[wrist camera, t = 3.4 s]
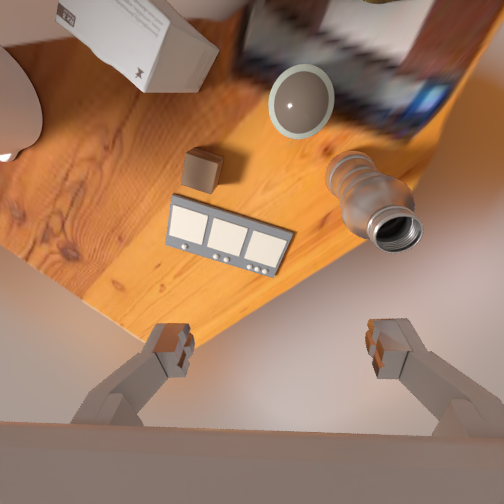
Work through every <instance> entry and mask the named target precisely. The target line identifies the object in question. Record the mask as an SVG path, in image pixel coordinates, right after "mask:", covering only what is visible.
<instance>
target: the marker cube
mask: <svg viewBox="0 0 504 504" xmlns="http://www.w3.org/2000/svg"><path fill="white" fill-rule="evenodd" d="M223 160H224V157H223V156H220V155H217V154H214V153H211V152H208V151H205V150H202V149H199V148H196V147H195V148H193V149H191V150H190V151H188V152H187V153H186V154H185V160H184V167H183V174H182V180H181V185H184V186H187V187H190V188H193V189H196V190H199V191H202V192H205V193H208V194H212V192H213V191H214V190H215V188H216V187H217V185H218V182H219V177H220V173H221V169H222V164H223Z"/></svg>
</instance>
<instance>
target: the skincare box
mask: <svg viewBox="0 0 504 504" xmlns="http://www.w3.org/2000/svg"><path fill="white" fill-rule="evenodd" d="M55 20H56V22H57V23H58V24H60V25H61V26H62V27H63V28H65V29H66V30H67V31H69V32H70V33H71V34H73V35H74V36H75V37H76V38H78V39H79V40H80V41H81V42H83V43H84V44H85V45H86V46H88V47H89V48H90V49H91V50H92V51H93V53H94V54H95V55H96V56H97V57H98V58H99V59H101V60H102V61H103V62H105V63H107V64H110V65H111V66H113V67H114V68H115V69H116V70H118V71H119V72H120V73H121V74H123V75H124V76H125V77H126V78H128V79H129V80H130V81H131V82H132V83H133V84H134V85H135V86H136V87H137V88H138V89H140V90H141V91H142V92H143V93H198V91H199V89H200V87H201V85H202V84H203V82H204V80H205V78H206V76H207V74H208V72H209V70H210V68H211V66H212V64H213V62H214V61H215V59H216V57H217V55H218V53H219V49H218V48H217V47H216V46H215V45H214V44H212V43H211V42H210V41H208V40H207V39H206V38H205V37H204V36H203V35H201V34H200V33H199V32H198V31H197V30H196V29H195V28H194V27H193V26H191V25H190V24H189V23H188V22H187V21H186V20H185V19H184V18H183V17H182V16H181V15H180V14H179V13H178V12H177V11H176V10H175V9H174V8H173V7H172V6H171V5H170V4H169V3H168V2H167V1H166V0H59V2H58V9H57V14H56V19H55Z"/></svg>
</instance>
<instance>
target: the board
mask: <svg viewBox="0 0 504 504" xmlns="http://www.w3.org/2000/svg"><path fill="white" fill-rule="evenodd" d="M292 235H293V232H291V231H288V230H285V229H282V228H279V227H276V226H273V225H270V224H267V223H263V222H260V221H257V220H254V219H251V218H248V217H245V216H242V215H239V214H236V213H232V212H229V211H226V210H223V209H220V208H217V207H214V206H211V205H208V204H204V203H201V202H198V201H195V200H192V199H189V198H186V197H183V196H180V195H176V194H172V197H171V205H170V213H169V220H168V228H167V236H166V244H165V245H167V246H170V247H174V248H177V249H180V250H183V251H187V252H190V253H193V254H197V255H200V256H203V257H206V258H210V259H213V260H216V261H219V262H223V263H226V264H229V265H232V266H236V267H239V268H242V269H246V270H249V271H252V272H255V273H259V274H262V275H265V276H268V277H272V278H274V275H275V273H276V271H277V269H278V267H279V264H280V262H281V260H282V258H283V255H284V253H285V251H286V249H287V247H288V244H289V242H290V240H291V238H292Z"/></svg>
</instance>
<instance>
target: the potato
mask: <svg viewBox="0 0 504 504" xmlns="http://www.w3.org/2000/svg"><path fill="white" fill-rule="evenodd" d="M363 1H366V2H369V3H373V4H382V3H387V2H391V1H397V0H363Z"/></svg>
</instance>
